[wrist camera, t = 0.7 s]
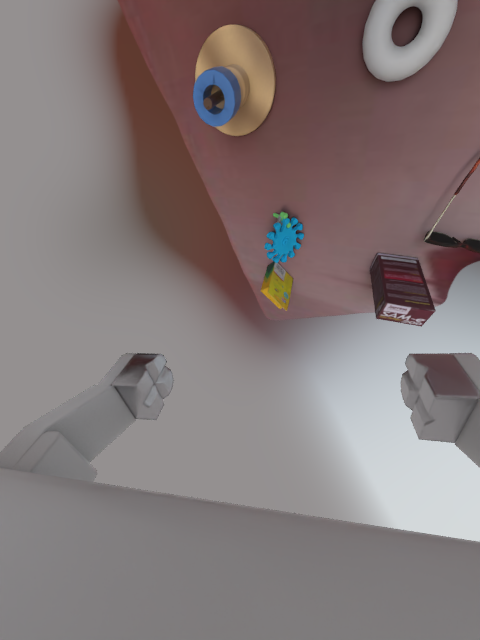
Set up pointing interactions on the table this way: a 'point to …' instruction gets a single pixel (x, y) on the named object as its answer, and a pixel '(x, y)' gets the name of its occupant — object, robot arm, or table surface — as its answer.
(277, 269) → the crayon box
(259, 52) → the stand
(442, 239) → the sunglasses
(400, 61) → the donut
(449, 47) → the table surface
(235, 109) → the ring
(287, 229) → the gear
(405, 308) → the supplement box
